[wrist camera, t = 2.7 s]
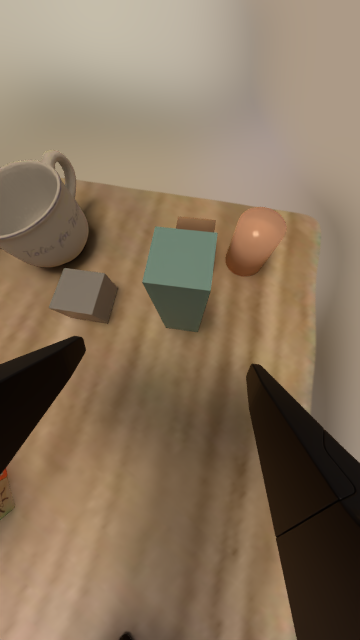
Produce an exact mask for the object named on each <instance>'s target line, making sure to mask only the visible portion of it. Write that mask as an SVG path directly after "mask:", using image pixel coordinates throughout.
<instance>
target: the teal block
mask: <svg viewBox="0 0 360 640" xmlns="http://www.w3.org/2000/svg"><path fill="white" fill-rule="evenodd" d="M216 241H217V233H214V232H204V231H194V230H184V229H174V228H164V227H155V230H154V234H153V239H152V243H151V247H150V252H149V256H148V260H147V264H146V269H145V273H144V277H143V282H142V283H143V284H144V286H145V288H146V290H147V292H148V294H149V296H150V298H151V300H152V302H153V304H154V306H155V308H156V309H157V311H158V313H159V315H160V317H161V319H162V321H163V323H164V325H165V327H166V328H172V329H179V330H186V331H193V332H198V329H199V326H200V323H201V320H202V316H203V313H204V310H205V307H206V304H207V301H208V298H209V294H210V291H211V284H212V275H213V267H214V258H215V250H216Z"/></svg>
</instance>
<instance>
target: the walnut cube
mask: <svg viewBox="0 0 360 640" xmlns="http://www.w3.org/2000/svg"><path fill="white" fill-rule="evenodd" d="M215 222H216V220H208V219H198V218H188V217H178V221H177V226H176V229H184V230H194V231H204V232H214V230H215Z"/></svg>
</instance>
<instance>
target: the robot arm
mask: <svg viewBox="0 0 360 640" xmlns="http://www.w3.org/2000/svg"><path fill="white" fill-rule="evenodd" d="M85 351H86V348H85V344H84V340H83V338H82V337H79V336H73V337H70V338H68V339H65V340H62V341H60V342H57V343H55V344H52V345H49V346H47V347H44V348H41V349H39V350H36V351H34V352H31V353H28V354H26V355H23V356H21V357H18V358H15V359H13V360H10V361H8V362H5V363H2V364H0V474H2V472H3V471H4V470H5V468H6V467H7V465H8V464H9V463H10V461H11V460H12V459H13V457H14V456H15V454H16V453H17V452H18V450H19V449H20V447H21V446H22V445H23V443H24V442H25V440H26V439H27V438H28V436H29V435H30V433H31V432H32V431H33V429H34V428H35V426H36V425H37V424H38V422H39V421H40V420H41V418H42V417H43V415H44V414H45V413H46V411H47V410H48V408H49V407H50V406H51V404H52V403H53V401H54V400H55V399H56V397H57V396H58V394H59V393H60V392H61V390H62V389H63V388H64V386H65V385H66V383H67V382H68V381H69V379H70V378H71V376H72V374H73V373H74V371H75V369H76V368H77V366H78V364H79V362H80V361H81V359H82V357H83V355H84V354H85ZM246 382H247V392H248V403H249V411H250V416H251V421H252V425H253V430H254V435H255V440H256V445H257V449H258V454H259V459H260V464H261V469H262V473H263V478H264V483H265V488H266V493H267V497H268V502H269V507H270V512H271V517H272V521H273V526H274V531H275V536H276V541H277V546H278V551H279V556H280V560H281V565H282V570H283V575H284V580H285V584H286V589H287V594H288V599H289V604H290V608H291V613H292V618H293V623H294V628H295V633H296V637H297V640H360V463H359V462H358V461H357V460H356V459H355V458H354V457H353V456H352V455H351V454H349V453H348V452H347V451H346V450H345V449H344V448H343V447H342V446H341V445H340V444H339V443H338V442H337V441H336V440H335V439H334V438H333V437H332V436H331V435H330V434H329V433H328V432H327V431H326V430H324V429H323V427H322V426H321V425H320V424H319V423H318V422H317V421H316V420H315V419H314V418H313V417H312V416H311V415H310V414H309V413H308V412H307V411H306V410H305V409H304V408H303V407H302V406H301V405H300V404H299V403H298V402H297V401H296V400H295V399H294V398H293V397H292V396H291V395H290V394H289V393H288V392H287V391H286V390H285V389H284V388H283V387H282V386H281V385H280V384H279V383H278V382H277V381H276V380H275V379H274V378H273V377H272V376H271V375H270V374H269V373H268V372H267V371H266V370H265V369H264V368H263V367H262V366H261V365H259V364H251V366H250V368H249V370H248V373H247V376H246ZM120 640H131V639H130V637H129V636H128V635H123V636H122V637H121V638H120Z"/></svg>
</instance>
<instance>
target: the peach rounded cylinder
mask: <svg viewBox="0 0 360 640" xmlns="http://www.w3.org/2000/svg"><path fill="white" fill-rule="evenodd" d="M286 230H287V226H286V222H285V220H284V219H283V217H282V216H281V215H280V214H279V213H278V212H276V211H274V210H272V209H269V208H265V207H255V208H251V209H249V210H247V211H245V212H244V213H243V214H242V215H241V216H240V218H239V220H238V223H237V226H236V229H235V232H234V235H233V237H232V240H231V243H230V246H229V249H228V252H227V254H226V265H227V267H228V268H229V270H230V271H232V272H233V273H234V274H236V275H239V276H251V275H254V274H255V273H257V272H258V271H259V270H260V268H261V267H262V266H263V264H264V263H265V262H266V260H267V259H268V258H269V256H270V255H271V254H272V252H273V251H274V250H275V248H276V247H277V246H278V244H279V243H280V242H281V240H282V239H283V238H284V236H285V234H286Z"/></svg>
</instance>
